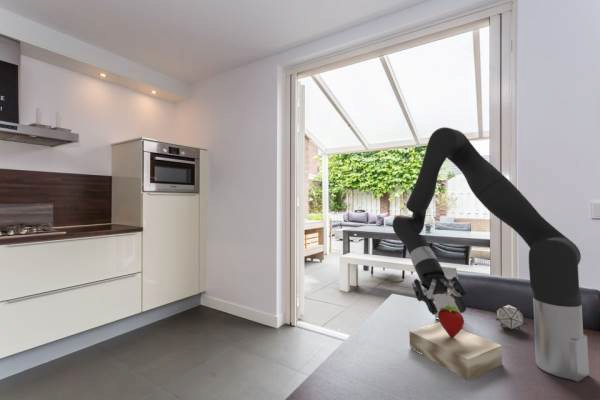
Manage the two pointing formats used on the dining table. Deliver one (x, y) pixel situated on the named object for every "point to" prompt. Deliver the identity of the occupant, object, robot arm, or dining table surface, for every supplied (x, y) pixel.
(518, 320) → the game die
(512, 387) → the dining table surface
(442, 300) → the grey tall block
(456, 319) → the strawberry
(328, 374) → the dining table surface
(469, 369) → the birch stand
